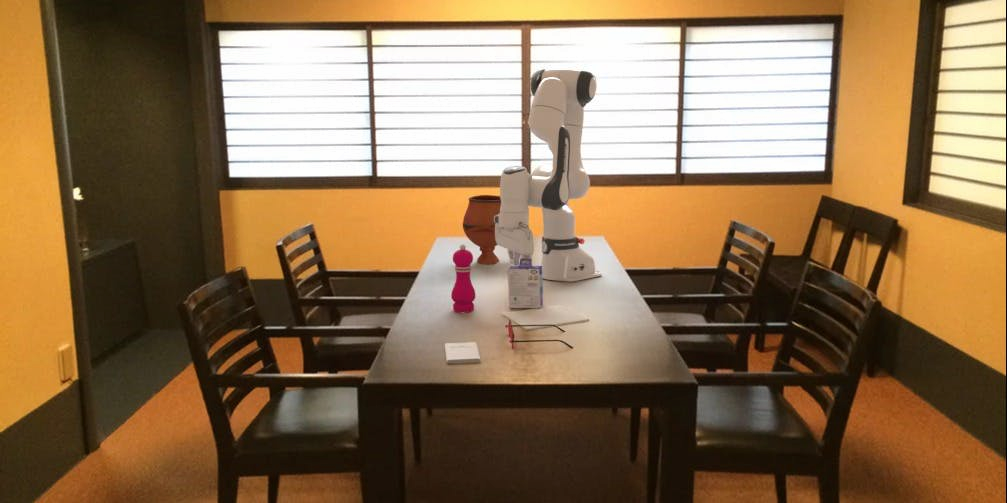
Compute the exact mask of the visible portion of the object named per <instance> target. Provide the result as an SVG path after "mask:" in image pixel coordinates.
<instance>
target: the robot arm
mask: <svg viewBox="0 0 1007 503" xmlns="http://www.w3.org/2000/svg"><path fill="white" fill-rule="evenodd" d="M597 86H598V85H597V78H596V76H595V74H594V73H593V72H591V71H589V70H584V69H582V70H581V69H575V68H567V67H564V68H557V67H556V68H548V67H546V68H545V67H542V68H539V69H536V70H535V71H534V73H533V74H532V75H531V79H530V92H531V94H532V95H533V99H532V102H531V106H530V110H529V113H528V114H529V115H528V127H529V129H530V131H531V132H532V134H533V135H534V136H535V137H537V138H538V139H539V140H541V141H543V142H545V143H546V144H547V145H548V146H547V147H548V149H549V150H550V151H551V155H552V164H551V163H550V164H548V163H547V164H542V165H539V166H537V167H536V168H534V170H533V171H532V173H529V172H528V170H527V168H526V166H521V165H514V166H508V167H505V168H504V169H503V170H502V172H501V174H500V176H501V177H500V183H499V196H500V199H501V207H500V214H498V215H496V216H494V222H495V223H496V224H495V239H496V243H497V246H499V247H502V248H504V249H507V254H508V258H509V264H511V265H512V266H519V264H520V258H521V256H524V257H525V256H532V255H534V251H535V245H534V244H535V242H534V234H533V231H532V229H531V228H530V227H529V226H530V225H529V224H530V223H529V222H530V221H529V218H530V217H529V216H530V209H529V207H533V208H541V212H542V213H541V214H542V226H543V227H542V229H543V230H542V236H541V252H542V255H541V263H540V266H542V279H545V280H549V281H559V282H561V281H563V282H567V283H569V282H570V283H571V282H577V281H578V282H579V281H582V280H587V279H592V278H597V277H601V276H602V272H601V271H600V270H599V269H596V265H595V259H594V258H593V255H592V256H591V255H590V254H589V253H588V252H587V251H585V250H584V249H583V248H582V247H581V246H580V244H581V245H584V243H586V242H585V238H582V237H577V236H576V215H575V212H574V211H573V210H572V208H571V207H570V204H569V201H570V200H571V201H572V200H579V199H582V198H584V197H585V196H586V195H587V194H588V192H589V190H590V187H591V181H590V176H589V175H588V174H587V172H586V171H585V168H584V165H583V161H582V160H583V159H582V154H581V149H582V146H581V144H582V136H583V127H584V114H585V112H584V108H585V107H586V106H587V104H589V103H590V102H592V100H593V99H594V97H595V95H596V92H597Z"/></svg>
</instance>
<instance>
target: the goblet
mask: <svg viewBox="0 0 1007 503" xmlns="http://www.w3.org/2000/svg"><path fill="white" fill-rule="evenodd" d="M500 207H501V199H500V195H491V194H481V195H474V196H470V197H469V198H468V206H467V207H466V208H467V209H466V211H465V212H464V213H465V214H464V216H463V219H462V228H463V232H464V234H465V236H466V237H467V238H468V240H469V241H470V242H471V243H473V244H474V245H475V246H477V247H479V251H480V252H481V254H480V255H479V256H478V258H477V259H476V262H477V263H478V264H481V265H494V264H493V263H496V264H497V262H498V263H499V262H500V259H499V257H498V256H497V255H496V254H495V253H494V251H495V250H496V247H497V246H498V245H497V243H496V239H495V224H496V223H495V222H494V216H496V215H498V214H500Z"/></svg>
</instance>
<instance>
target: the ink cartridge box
mask: <svg viewBox="0 0 1007 503" xmlns="http://www.w3.org/2000/svg"><path fill="white" fill-rule="evenodd" d="M525 261H526V262H525ZM532 264H533V262H532V258H521V257H520V258H519V264H518V265H511V266H510V267H509V268H508V269H507V276H508V278H507V280H508V283H507V284H508V286H507V287H508V308H512V309H513V308H515V309H537V308H542V306H544V292H543V291H544V287H543V286H544V285H543V284H544V283H543V282H544V281H543V278H542V266H541V265H532Z"/></svg>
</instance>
